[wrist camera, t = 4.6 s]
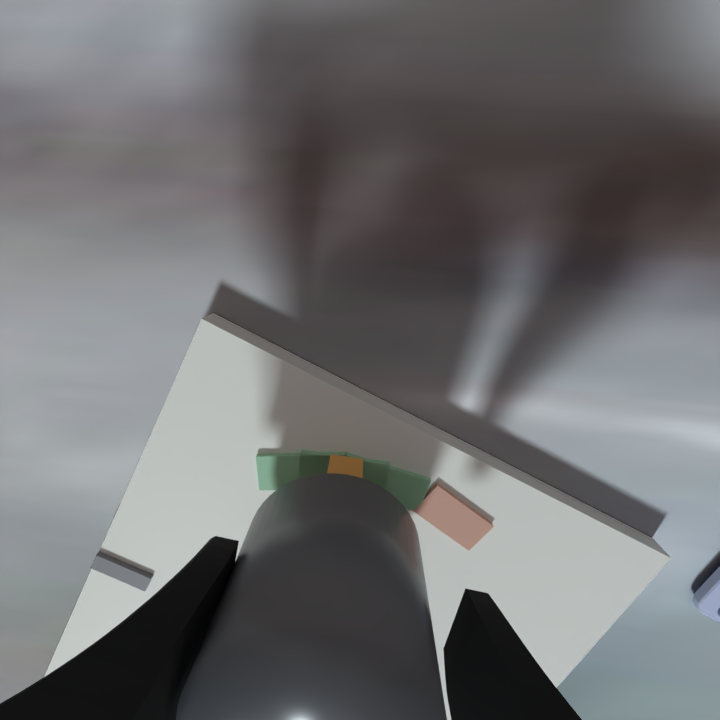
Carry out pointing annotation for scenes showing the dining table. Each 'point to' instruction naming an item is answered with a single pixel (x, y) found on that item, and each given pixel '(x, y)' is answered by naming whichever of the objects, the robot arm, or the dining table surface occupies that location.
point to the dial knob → (322, 612)
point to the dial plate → (381, 466)
